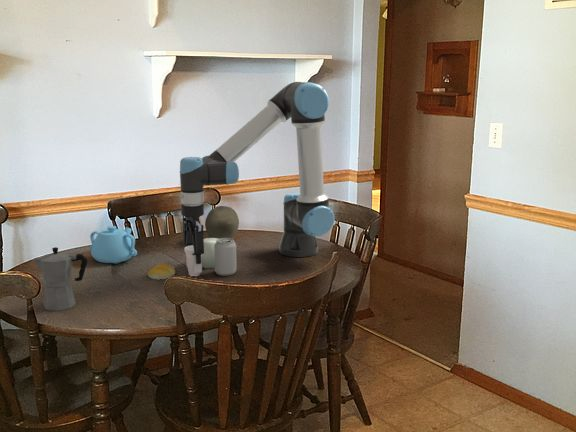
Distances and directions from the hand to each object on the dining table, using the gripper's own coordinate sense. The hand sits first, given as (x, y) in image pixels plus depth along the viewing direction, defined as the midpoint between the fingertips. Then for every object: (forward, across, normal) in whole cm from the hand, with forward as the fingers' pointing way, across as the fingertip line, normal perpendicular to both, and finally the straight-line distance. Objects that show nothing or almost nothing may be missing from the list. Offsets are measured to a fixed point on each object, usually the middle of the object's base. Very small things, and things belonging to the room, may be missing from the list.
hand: (194, 269), depth 215 cm
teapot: (+2, -32, -19) cm, 37 cm away
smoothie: (+2, 0, 0) cm, 2 cm away
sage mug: (+2, -8, +9) cm, 12 cm away
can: (+2, +3, +10) cm, 11 cm away
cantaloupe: (+2, -33, +24) cm, 41 cm away
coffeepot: (+2, +9, -44) cm, 45 cm away
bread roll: (+2, -4, -10) cm, 11 cm away
